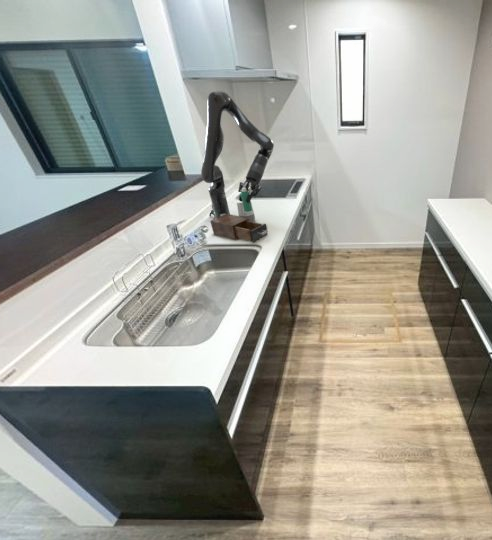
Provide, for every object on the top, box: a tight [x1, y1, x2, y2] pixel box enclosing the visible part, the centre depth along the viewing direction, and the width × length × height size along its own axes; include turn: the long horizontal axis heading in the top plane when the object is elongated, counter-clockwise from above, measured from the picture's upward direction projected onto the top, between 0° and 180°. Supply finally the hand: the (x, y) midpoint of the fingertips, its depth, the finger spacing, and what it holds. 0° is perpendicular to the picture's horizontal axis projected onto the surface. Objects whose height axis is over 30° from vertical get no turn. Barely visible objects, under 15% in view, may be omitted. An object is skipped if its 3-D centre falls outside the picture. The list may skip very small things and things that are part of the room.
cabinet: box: [210, 213, 249, 241], centre depth 171 cm, size 18×13×9 cm
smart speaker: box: [236, 202, 256, 222], centre depth 185 cm, size 10×9×14 cm
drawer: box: [234, 221, 269, 244], centre depth 165 cm, size 20×11×7 cm, turn 61°
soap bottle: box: [239, 188, 253, 212], centre depth 158 cm, size 4×4×12 cm
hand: (243, 201), depth 157 cm, fingers closed on soap bottle, 4 cm apart
